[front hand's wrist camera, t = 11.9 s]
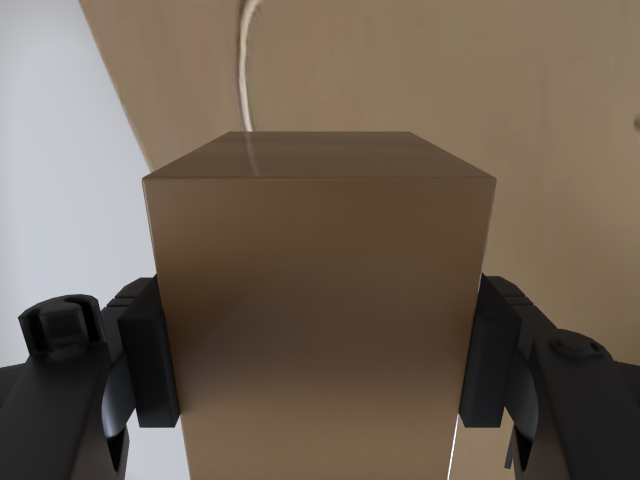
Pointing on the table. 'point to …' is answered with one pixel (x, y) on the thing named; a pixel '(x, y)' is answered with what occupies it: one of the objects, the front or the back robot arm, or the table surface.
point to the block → (319, 301)
